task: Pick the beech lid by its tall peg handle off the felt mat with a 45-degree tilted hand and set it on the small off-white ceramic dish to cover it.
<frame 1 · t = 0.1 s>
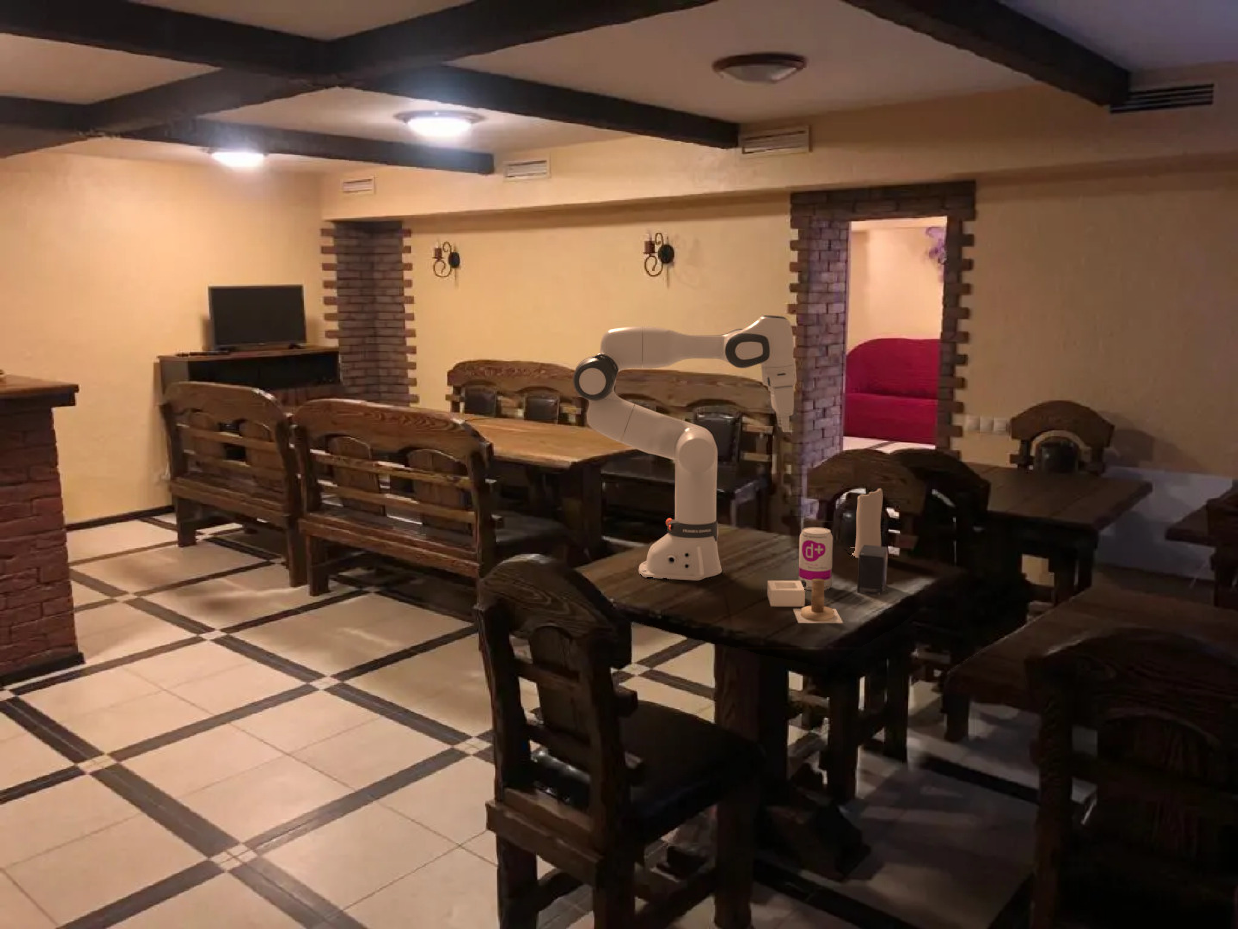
hand: (783, 429, 261), 39 cm above the table, tool pointing down, fingers open, 8 cm apart
dish: (785, 603, 241), on the table
beige wavy upright slab: (861, 554, 285), on the table
small box: (872, 591, 250), on the table
supplement can: (815, 588, 253), on the table
mat: (817, 618, 229), on the table
lid: (817, 615, 229), point 1 cm above the table, touching mat
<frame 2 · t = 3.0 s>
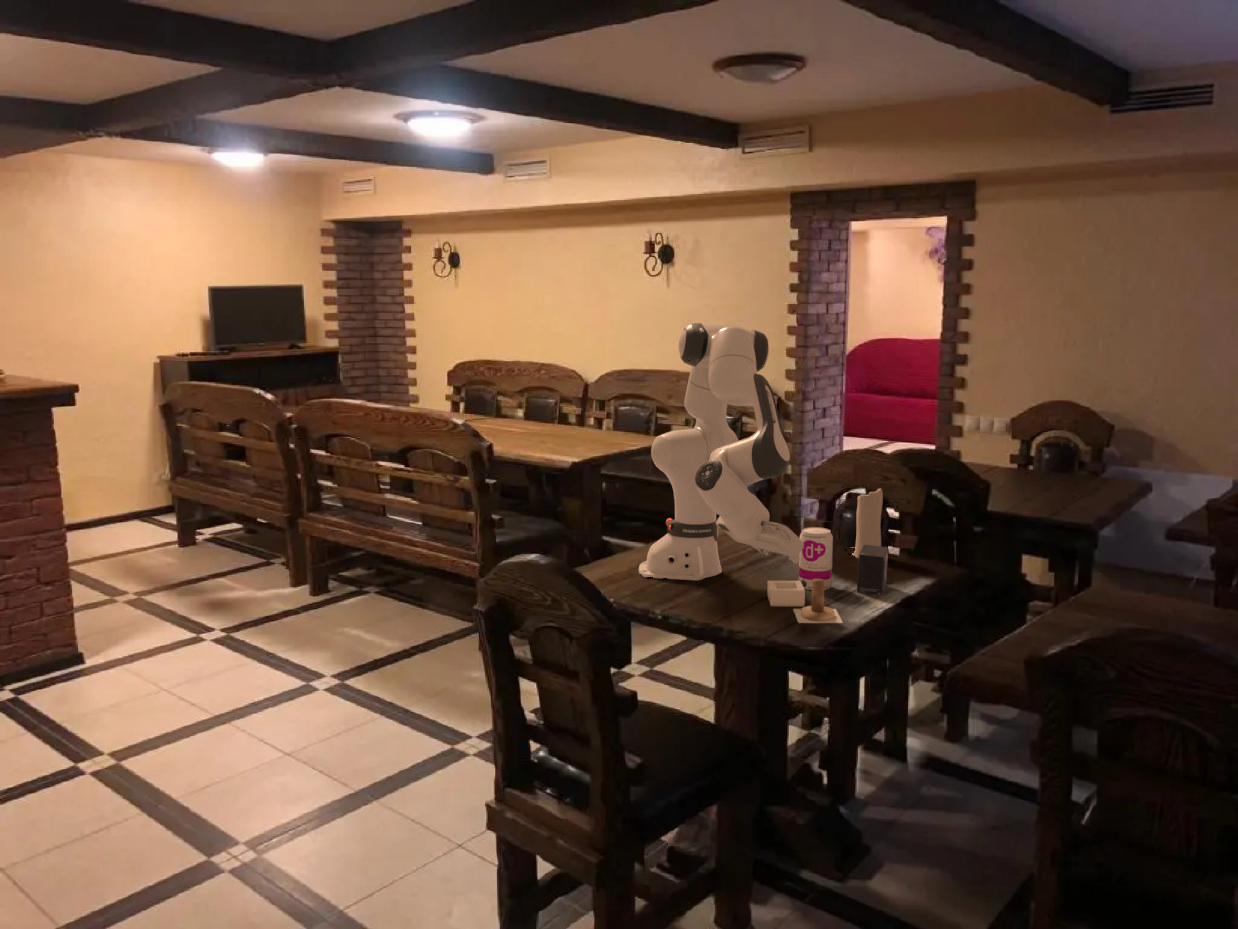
hand: (781, 556, 220), 17 cm above the table, tool tilted 45°, fingers open, 8 cm apart
nothing on the table moved.
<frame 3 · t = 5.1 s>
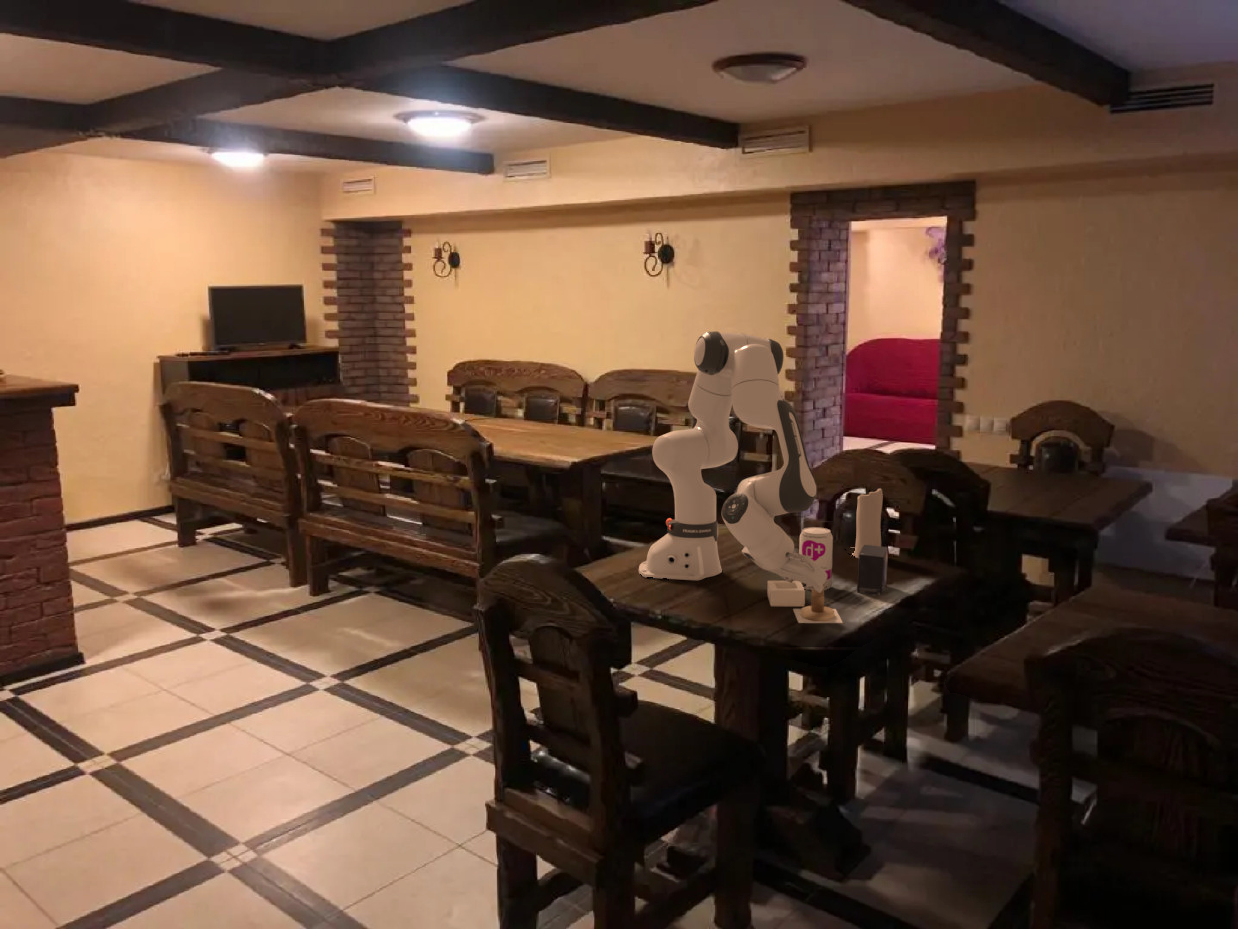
hand: (805, 584, 226), 9 cm above the table, tool tilted 45°, fingers open, 8 cm apart
nothing on the table moved.
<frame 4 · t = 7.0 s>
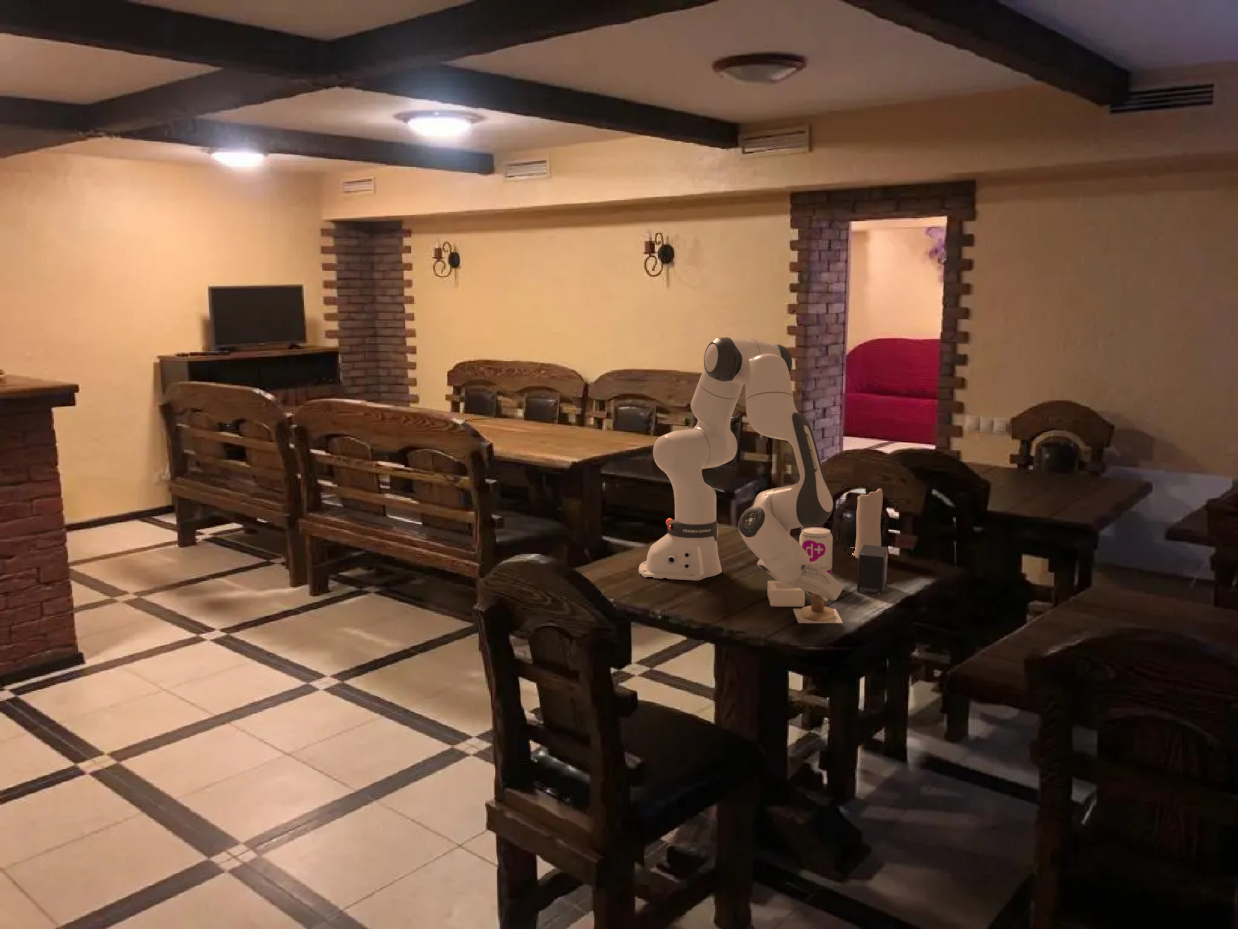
hand: (819, 596, 229), 5 cm above the table, tool tilted 45°, fingers closed on lid, 3 cm apart
lid: (817, 615, 229), point 1 cm above the table, touching gripper, mat
everything else where it was.
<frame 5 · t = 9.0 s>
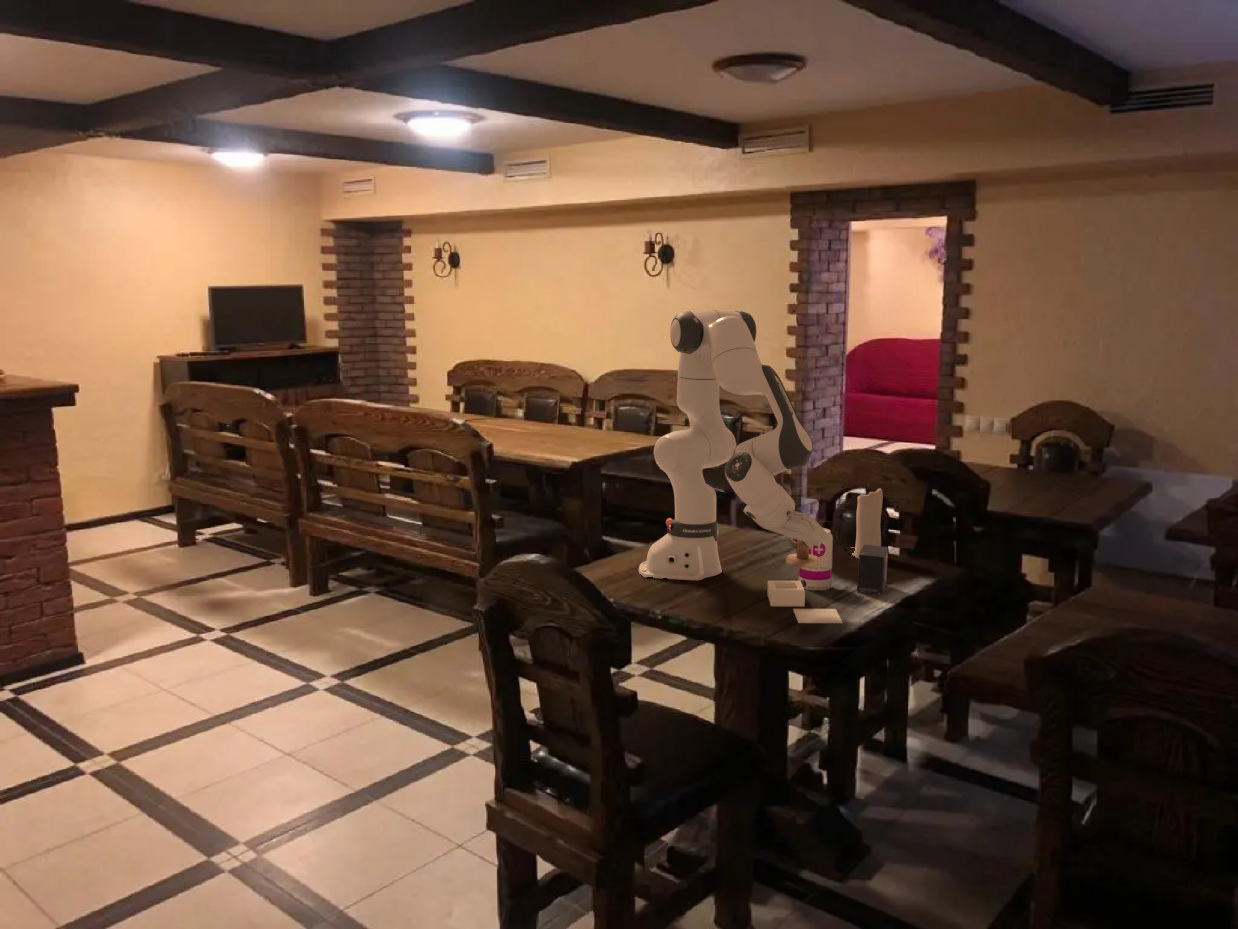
hand: (804, 543, 232), 16 cm above the table, tool tilted 45°, fingers closed on lid, 3 cm apart
lid: (802, 562, 233), point 12 cm above the table, touching gripper
everything else where it was.
when the fingers open (11 cm above the table, at t = 11.3 s): lid drops 2 cm, resting on dish.
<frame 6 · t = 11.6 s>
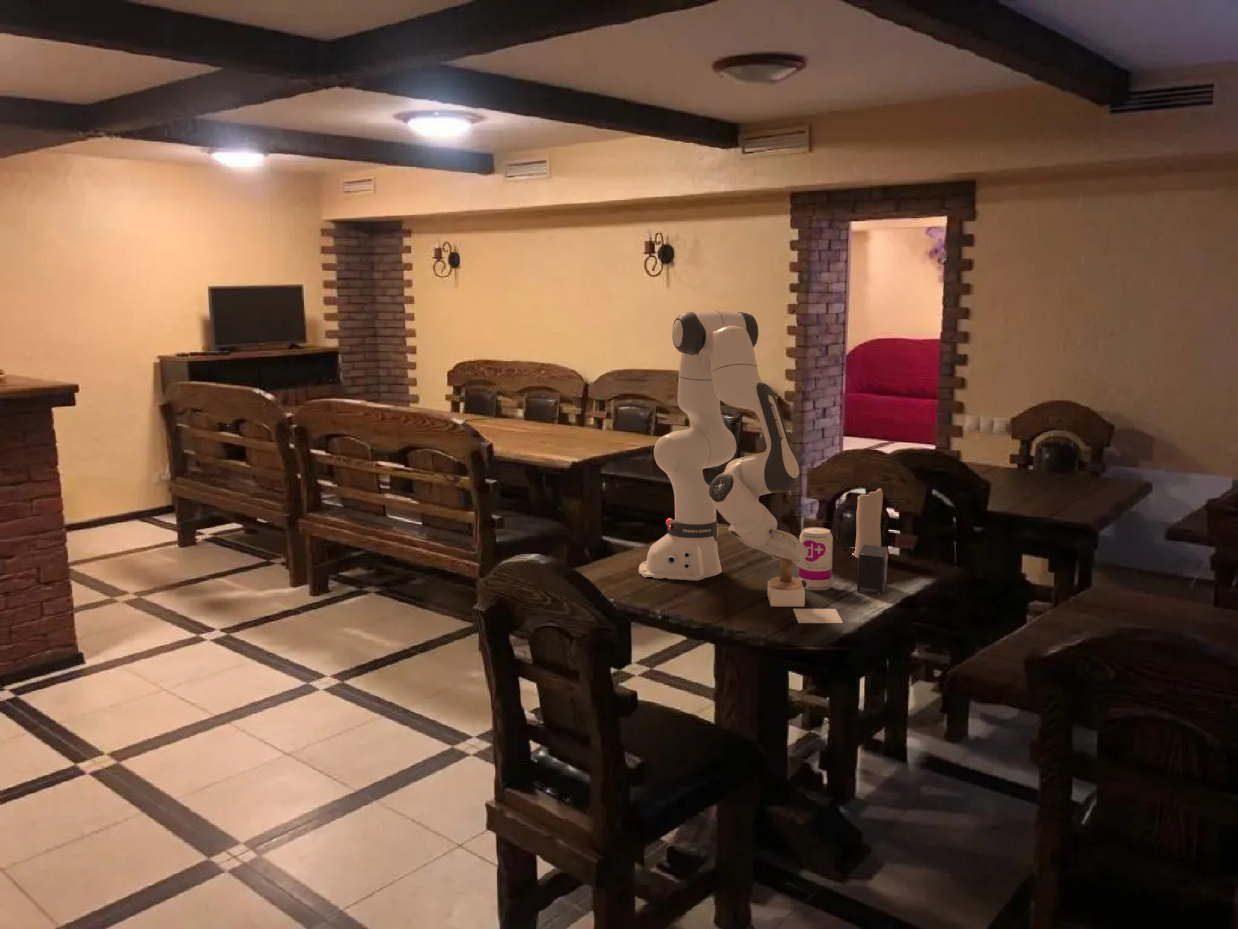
hand: (788, 560, 239), 11 cm above the table, tool tilted 45°, fingers open, 6 cm apart
lid: (785, 585, 240), point 4 cm above the table, touching dish
everything else where it was.
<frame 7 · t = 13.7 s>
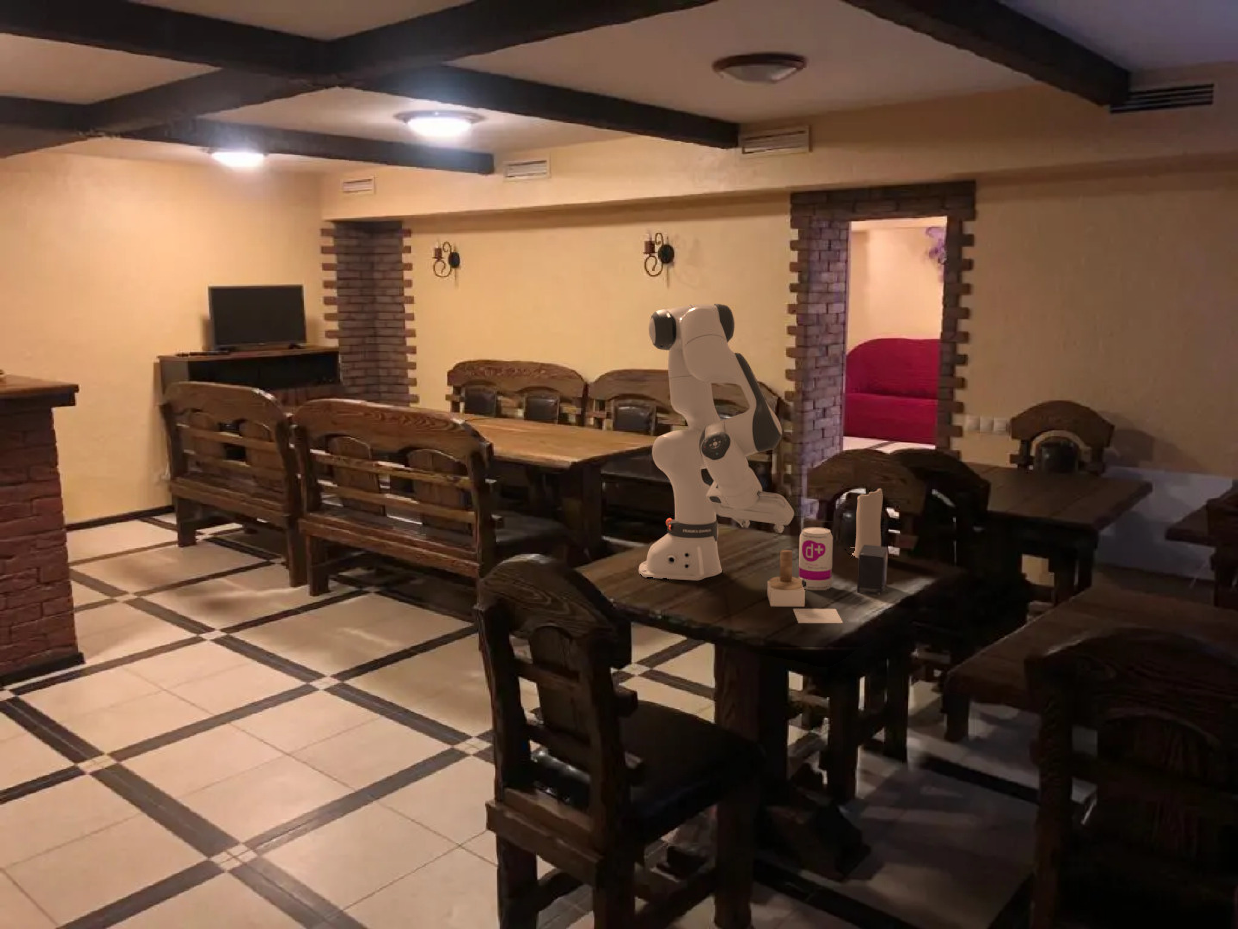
hand: (763, 527, 235), 19 cm above the table, tool tilted 40°, fingers open, 8 cm apart
nothing on the table moved.
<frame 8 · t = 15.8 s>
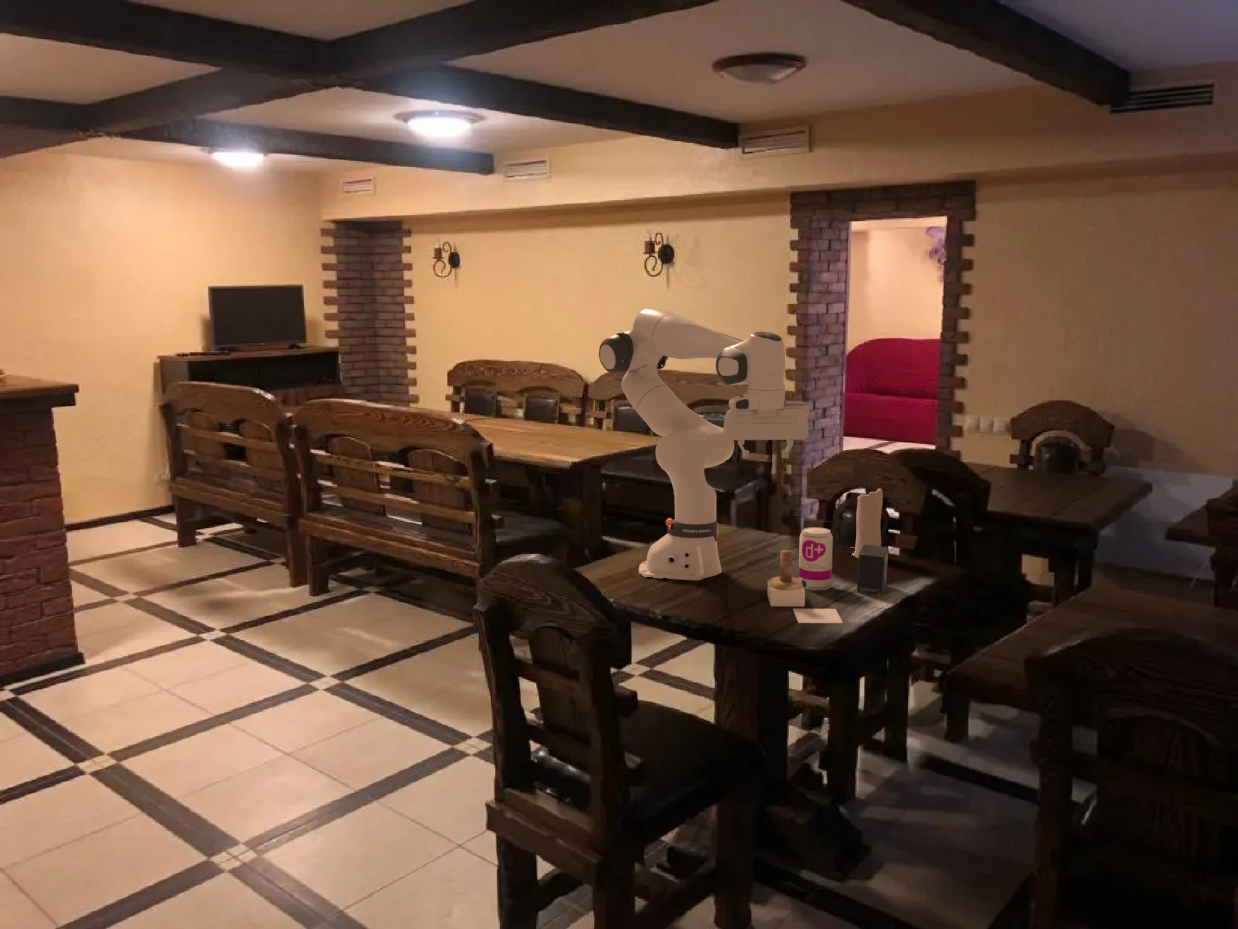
hand: (765, 458, 239), 35 cm above the table, tool pointing down, fingers open, 8 cm apart
nothing on the table moved.
at the end: lid 0.0 cm off-centre on the dish, point 4.5 cm above the dish's base; lid touching dish; the gripper is holding nothing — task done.
